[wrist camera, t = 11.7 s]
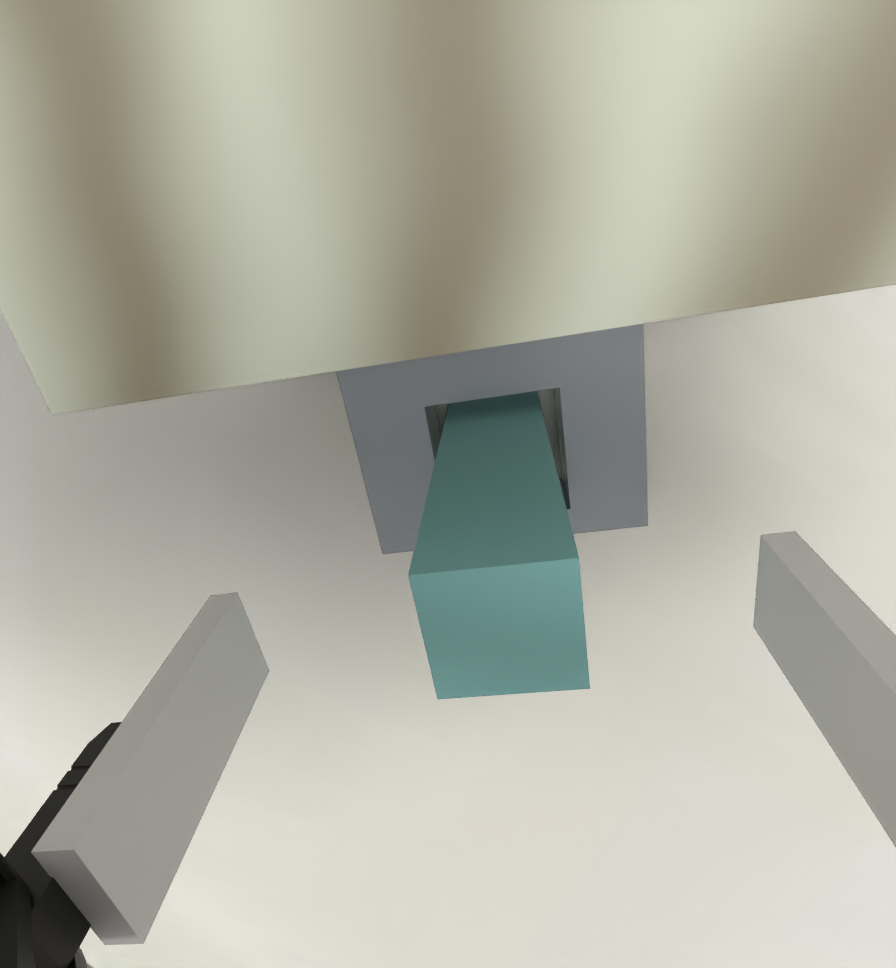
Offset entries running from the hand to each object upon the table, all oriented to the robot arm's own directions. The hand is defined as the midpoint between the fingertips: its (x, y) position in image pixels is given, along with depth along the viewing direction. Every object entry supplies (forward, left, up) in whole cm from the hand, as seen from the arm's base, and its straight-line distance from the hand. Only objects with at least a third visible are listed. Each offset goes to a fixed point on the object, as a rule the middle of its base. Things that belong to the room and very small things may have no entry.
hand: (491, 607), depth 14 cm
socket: (0, +3, -13) cm, 14 cm away
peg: (0, 0, -13) cm, 13 cm away
